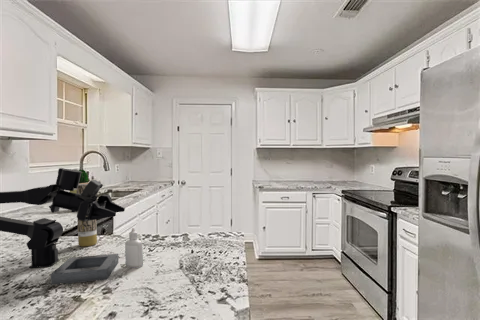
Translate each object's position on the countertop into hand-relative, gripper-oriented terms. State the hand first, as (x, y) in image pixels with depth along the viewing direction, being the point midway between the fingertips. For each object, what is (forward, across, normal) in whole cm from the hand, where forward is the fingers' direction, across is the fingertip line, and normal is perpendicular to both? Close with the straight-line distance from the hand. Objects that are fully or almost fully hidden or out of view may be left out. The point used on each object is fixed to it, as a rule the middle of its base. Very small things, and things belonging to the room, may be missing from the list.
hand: (120, 212), depth 102 cm
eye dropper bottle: (+10, -6, +14) cm, 19 cm away
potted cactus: (-58, +119, +32) cm, 136 cm away
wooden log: (-15, +23, +21) cm, 35 cm away
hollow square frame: (-2, -10, +17) cm, 20 cm away
